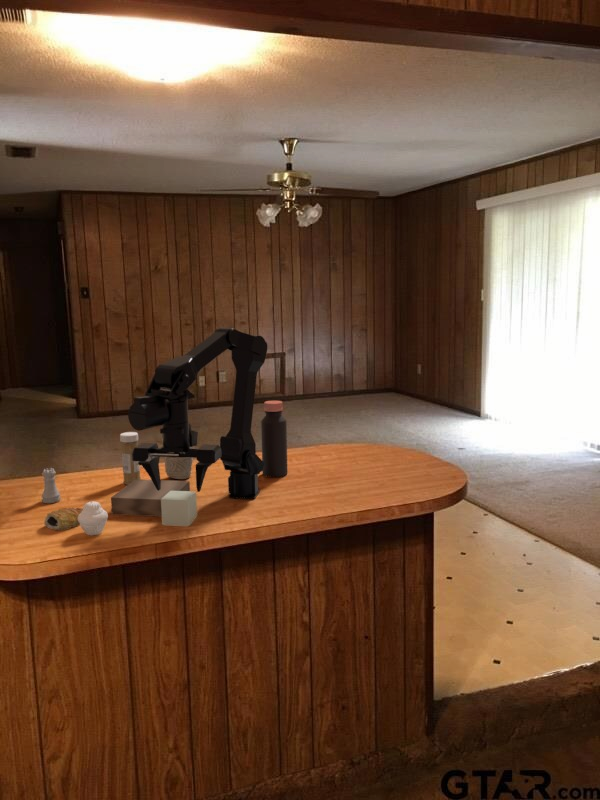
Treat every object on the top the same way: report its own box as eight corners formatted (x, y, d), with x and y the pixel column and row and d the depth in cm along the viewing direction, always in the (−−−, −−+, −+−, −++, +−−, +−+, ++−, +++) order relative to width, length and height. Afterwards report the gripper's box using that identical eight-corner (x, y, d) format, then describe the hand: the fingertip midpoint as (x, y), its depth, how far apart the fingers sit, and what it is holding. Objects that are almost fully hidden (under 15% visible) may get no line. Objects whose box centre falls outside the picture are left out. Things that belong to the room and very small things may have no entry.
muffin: (109, 536, 142) (106, 504, 140) (78, 539, 140) (75, 507, 139) (108, 525, 147) (106, 495, 146) (79, 529, 146) (76, 498, 144)
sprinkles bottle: (143, 483, 177) (140, 433, 174) (126, 486, 174) (123, 436, 172) (137, 479, 181) (134, 430, 178) (120, 482, 178) (117, 433, 176)
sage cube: (197, 516, 152) (196, 491, 151) (188, 526, 146) (187, 500, 145) (171, 515, 153) (170, 490, 152) (162, 525, 147) (160, 499, 146)
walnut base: (190, 496, 166) (189, 481, 165) (170, 516, 152) (169, 499, 151) (136, 494, 168) (135, 479, 167) (112, 514, 154) (110, 497, 154)
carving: (197, 478, 181) (195, 434, 179) (171, 483, 177) (169, 438, 175) (187, 472, 186) (185, 430, 184) (161, 477, 182) (159, 434, 180)
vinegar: (292, 472, 184) (290, 401, 181) (278, 479, 179) (276, 405, 175) (271, 469, 188) (270, 398, 184) (257, 475, 182) (255, 403, 179)
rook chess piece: (64, 498, 166) (62, 467, 164) (52, 504, 162) (50, 472, 160) (49, 497, 167) (47, 466, 166) (37, 503, 163) (34, 471, 162)
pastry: (76, 514, 155) (75, 499, 154) (96, 520, 152) (95, 504, 151) (41, 527, 147) (40, 511, 147) (61, 534, 144) (60, 517, 143)
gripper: (226, 414, 152) (229, 480, 155) (148, 413, 155) (152, 478, 158) (212, 425, 141) (215, 496, 144) (128, 423, 144) (133, 493, 147)
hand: (178, 490), depth 149 cm, fingers open, 9 cm apart
